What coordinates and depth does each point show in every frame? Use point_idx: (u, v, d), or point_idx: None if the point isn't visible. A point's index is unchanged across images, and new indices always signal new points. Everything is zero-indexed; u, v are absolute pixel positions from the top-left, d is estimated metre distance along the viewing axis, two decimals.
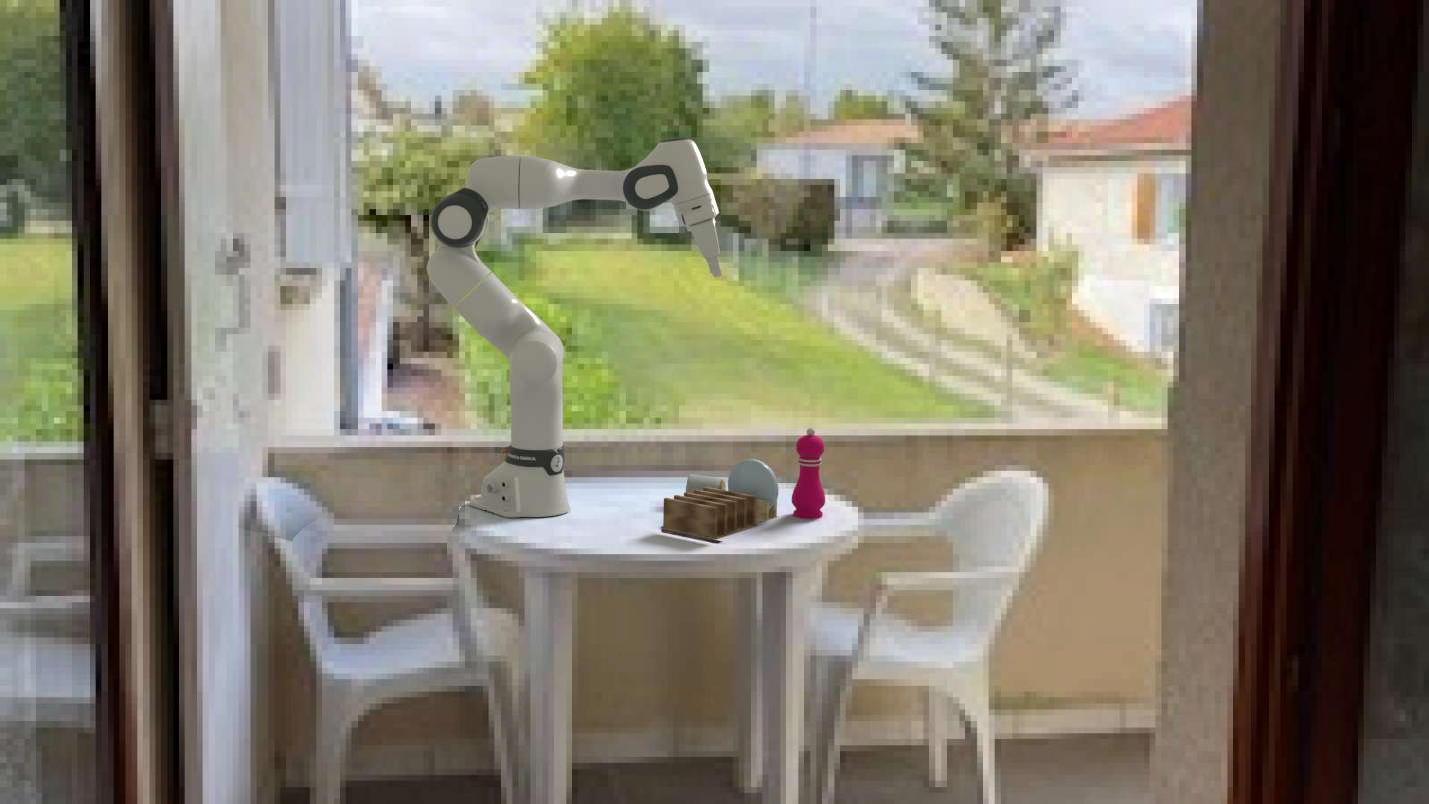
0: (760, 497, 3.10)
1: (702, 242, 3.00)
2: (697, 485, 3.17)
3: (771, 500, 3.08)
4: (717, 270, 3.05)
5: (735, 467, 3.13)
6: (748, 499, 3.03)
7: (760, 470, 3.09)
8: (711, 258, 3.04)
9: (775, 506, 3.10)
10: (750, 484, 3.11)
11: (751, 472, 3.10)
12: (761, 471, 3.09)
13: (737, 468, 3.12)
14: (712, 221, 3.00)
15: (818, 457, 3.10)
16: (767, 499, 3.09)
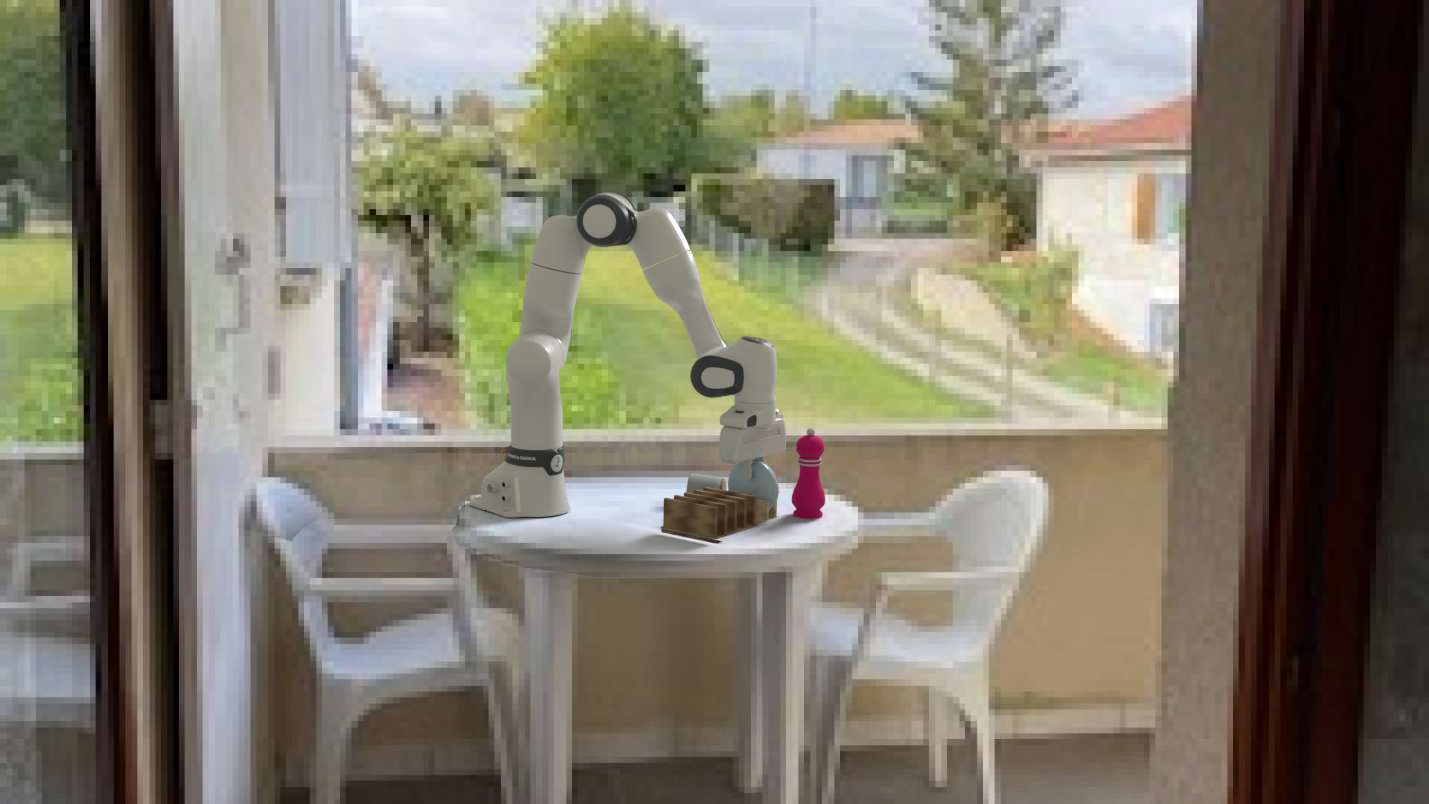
0: (760, 497, 3.10)
1: (722, 446, 3.03)
2: (698, 484, 3.18)
3: (771, 500, 3.08)
4: (748, 473, 3.09)
5: (735, 467, 3.12)
6: (748, 499, 3.03)
7: (760, 470, 3.09)
8: (744, 461, 3.08)
9: (775, 506, 3.10)
10: (750, 484, 3.11)
11: None
12: (761, 471, 3.09)
13: (737, 468, 3.12)
14: (739, 431, 3.01)
15: (818, 457, 3.10)
16: (767, 499, 3.09)
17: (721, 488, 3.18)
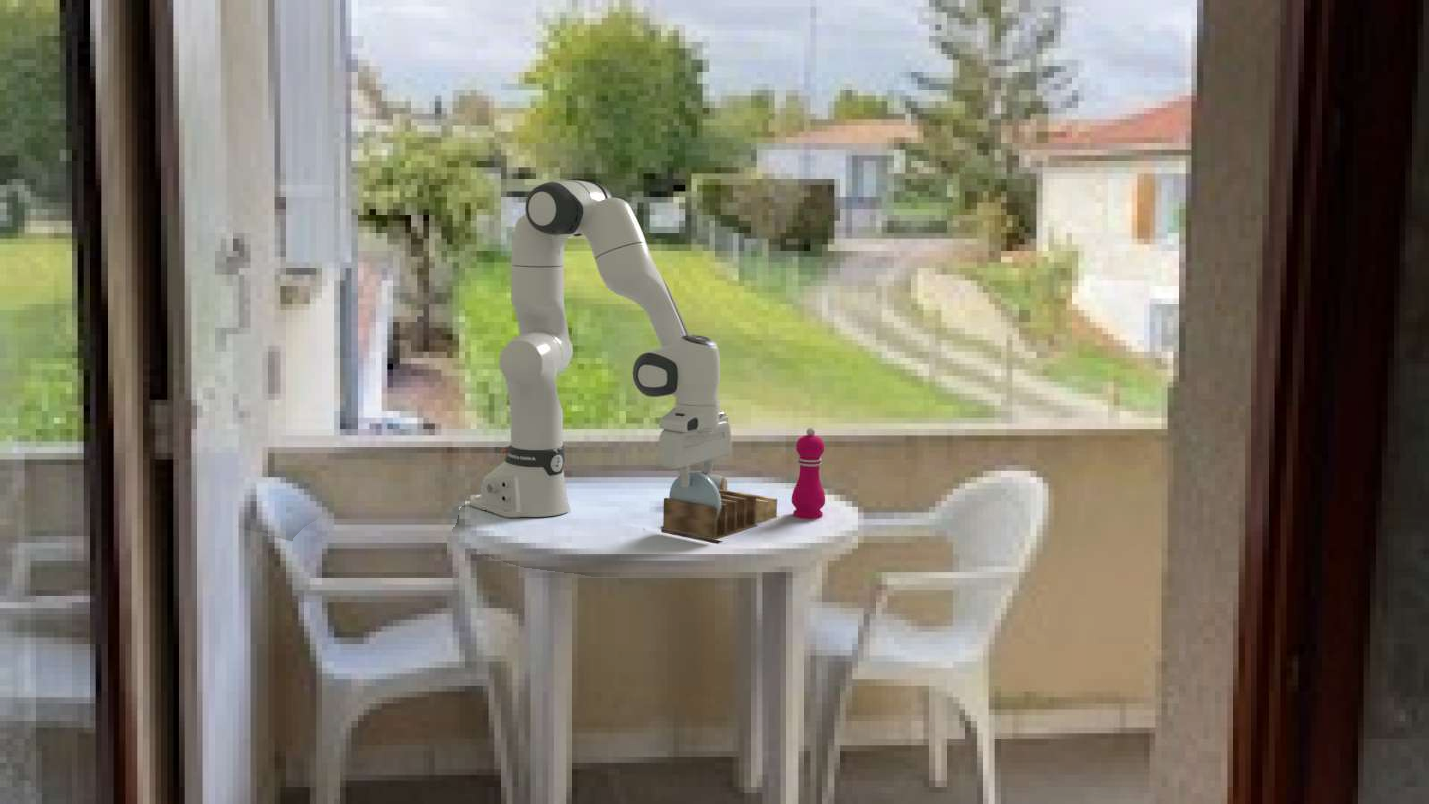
0: None
1: (662, 450, 2.88)
2: None
3: None
4: (685, 480, 2.93)
5: (676, 480, 2.98)
6: (748, 499, 3.03)
7: (702, 483, 2.94)
8: (681, 467, 2.92)
9: (775, 506, 3.10)
10: (692, 498, 2.96)
11: (693, 485, 2.95)
12: (703, 484, 2.94)
13: (679, 481, 2.97)
14: (679, 435, 2.86)
15: (818, 457, 3.10)
16: None
17: (722, 487, 3.19)
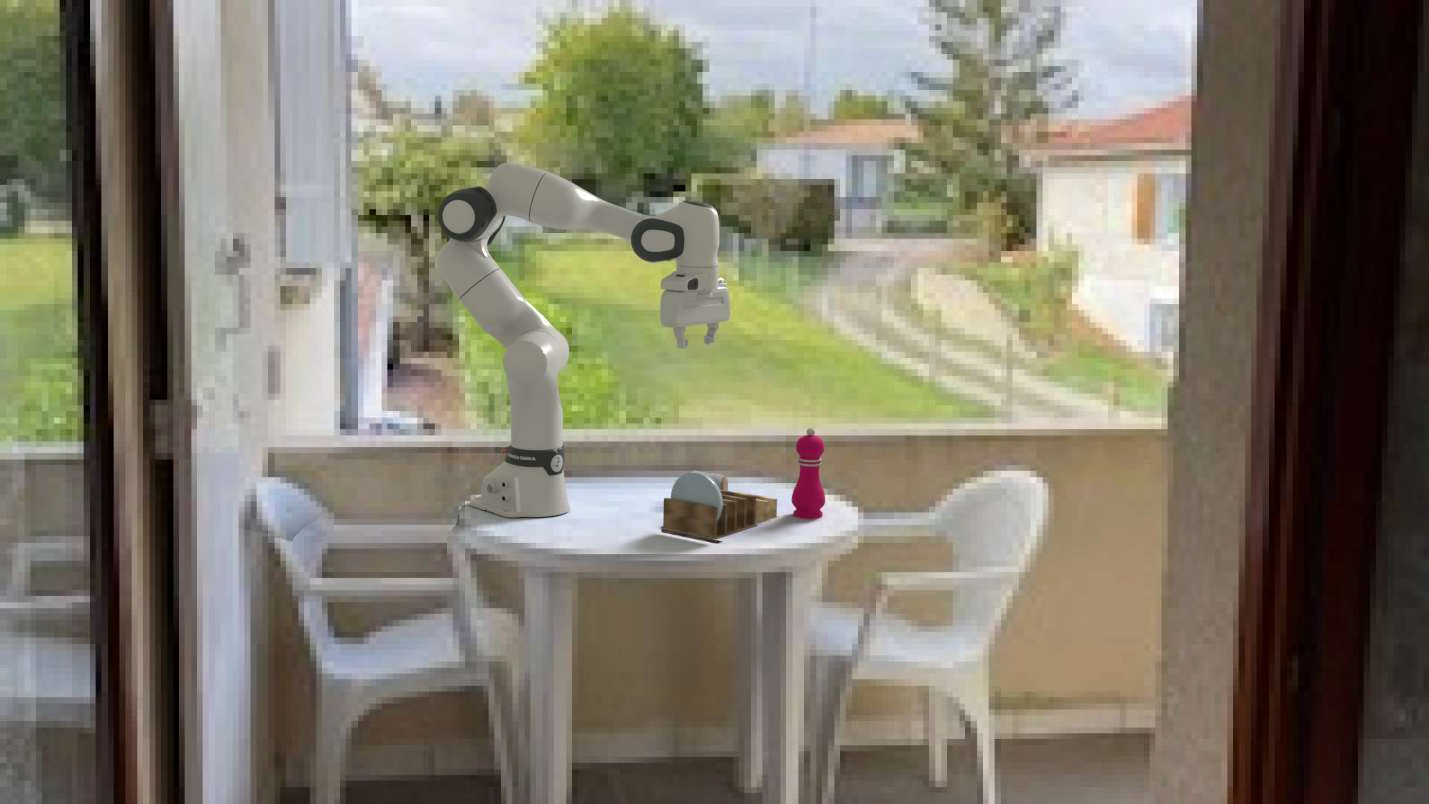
0: None
1: (663, 309, 2.97)
2: None
3: None
4: (681, 341, 3.01)
5: (679, 479, 2.97)
6: (748, 499, 3.03)
7: (705, 484, 2.94)
8: (676, 328, 3.00)
9: (775, 506, 3.10)
10: (694, 498, 2.96)
11: (695, 485, 2.95)
12: (705, 485, 2.94)
13: (681, 480, 2.97)
14: (680, 294, 2.96)
15: (818, 457, 3.10)
16: None
17: (722, 485, 3.20)
